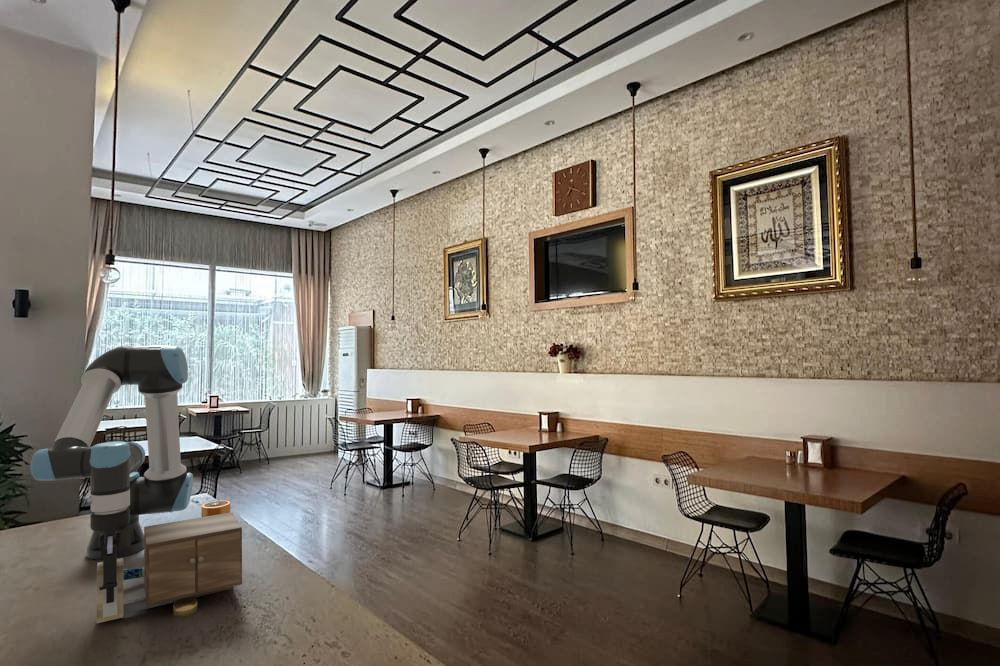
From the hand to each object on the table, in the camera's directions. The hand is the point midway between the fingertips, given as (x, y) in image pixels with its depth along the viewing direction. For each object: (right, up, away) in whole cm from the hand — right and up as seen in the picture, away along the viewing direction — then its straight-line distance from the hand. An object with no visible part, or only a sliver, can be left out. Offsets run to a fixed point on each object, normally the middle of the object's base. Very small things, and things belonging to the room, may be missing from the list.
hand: (110, 610), depth 129 cm
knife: (-1, -3, +26) cm, 26 cm away
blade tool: (+7, -1, +4) cm, 8 cm away
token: (+15, -2, +4) cm, 16 cm away
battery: (+12, -3, +25) cm, 28 cm away
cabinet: (+14, -2, +9) cm, 17 cm away
